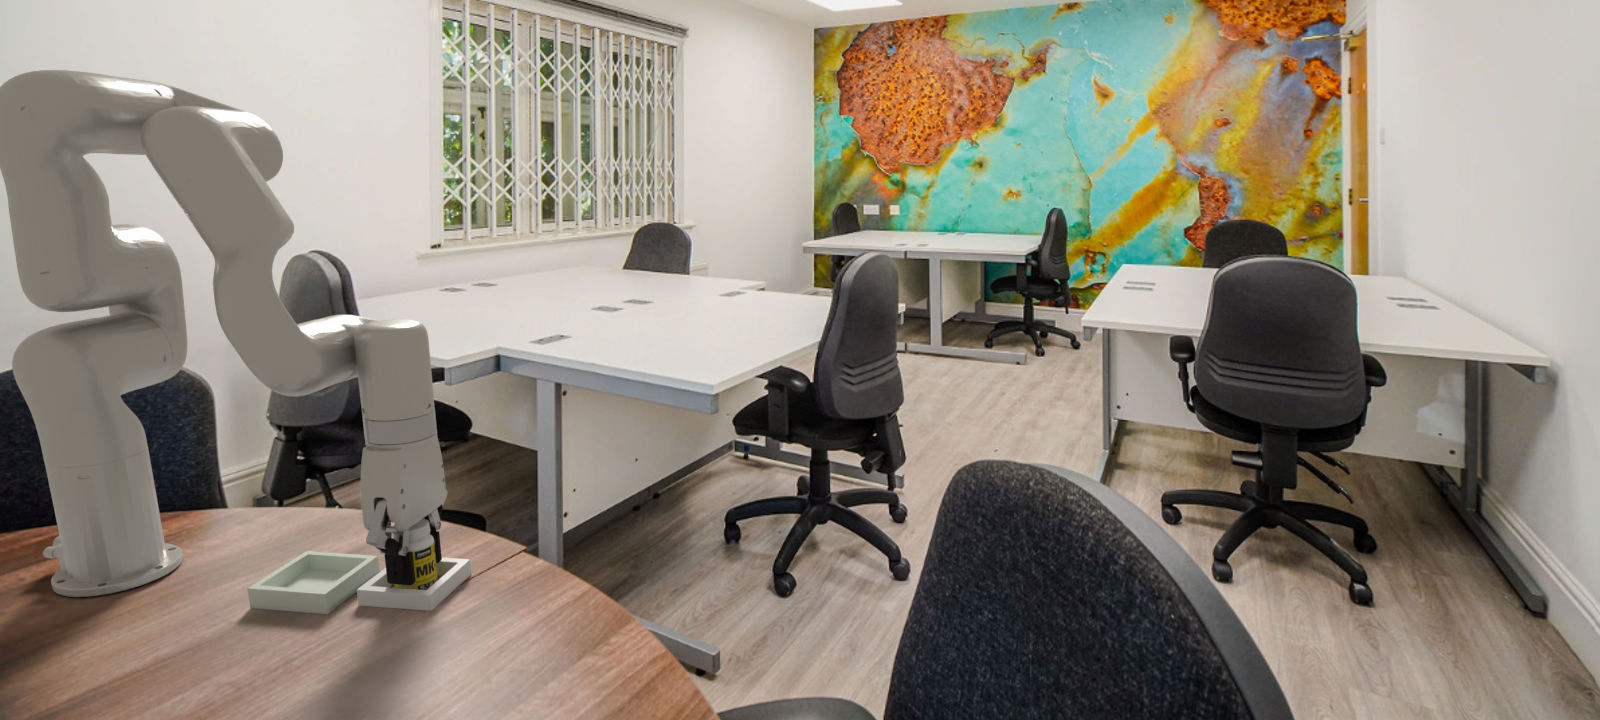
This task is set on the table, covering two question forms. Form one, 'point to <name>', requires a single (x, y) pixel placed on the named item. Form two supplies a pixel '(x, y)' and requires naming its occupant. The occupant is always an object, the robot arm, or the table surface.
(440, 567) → the collar holder
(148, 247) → the robot arm
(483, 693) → the table surface
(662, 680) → the table surface
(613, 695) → the table surface
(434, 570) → the supplement bottle
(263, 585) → the tray
